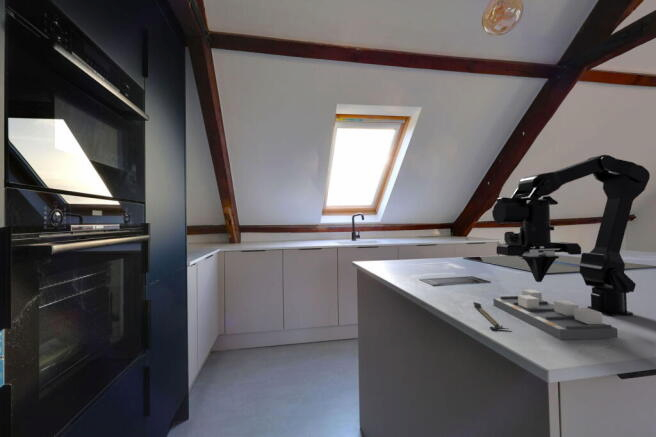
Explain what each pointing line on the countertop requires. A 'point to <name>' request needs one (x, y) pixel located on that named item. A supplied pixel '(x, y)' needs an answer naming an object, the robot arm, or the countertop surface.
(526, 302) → the tab
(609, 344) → the countertop surface
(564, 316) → the switch bank
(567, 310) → the white rectangular block
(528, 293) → the white rectangular block
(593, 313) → the off-white short block
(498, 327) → the claw hammer
